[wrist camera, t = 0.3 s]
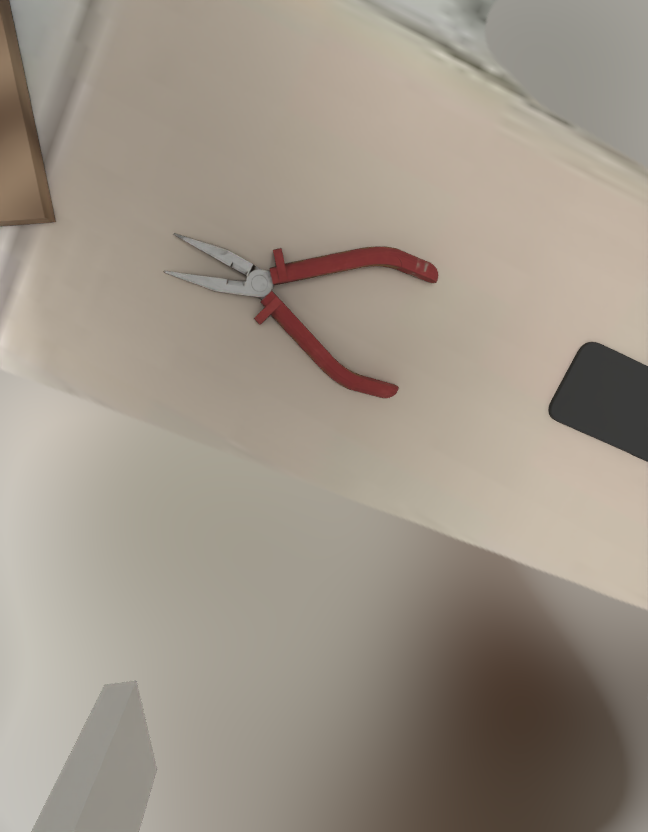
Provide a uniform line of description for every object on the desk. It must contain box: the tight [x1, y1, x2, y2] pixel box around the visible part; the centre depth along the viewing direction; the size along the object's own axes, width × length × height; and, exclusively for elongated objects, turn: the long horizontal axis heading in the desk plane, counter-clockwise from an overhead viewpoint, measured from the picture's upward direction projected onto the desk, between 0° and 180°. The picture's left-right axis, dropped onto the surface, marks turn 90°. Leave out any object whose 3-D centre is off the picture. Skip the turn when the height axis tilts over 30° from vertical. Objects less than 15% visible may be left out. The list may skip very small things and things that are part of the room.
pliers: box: [164, 233, 438, 398], centre depth 35 cm, size 12×20×3 cm, turn 72°
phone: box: [549, 342, 648, 462], centre depth 40 cm, size 7×1×15 cm
